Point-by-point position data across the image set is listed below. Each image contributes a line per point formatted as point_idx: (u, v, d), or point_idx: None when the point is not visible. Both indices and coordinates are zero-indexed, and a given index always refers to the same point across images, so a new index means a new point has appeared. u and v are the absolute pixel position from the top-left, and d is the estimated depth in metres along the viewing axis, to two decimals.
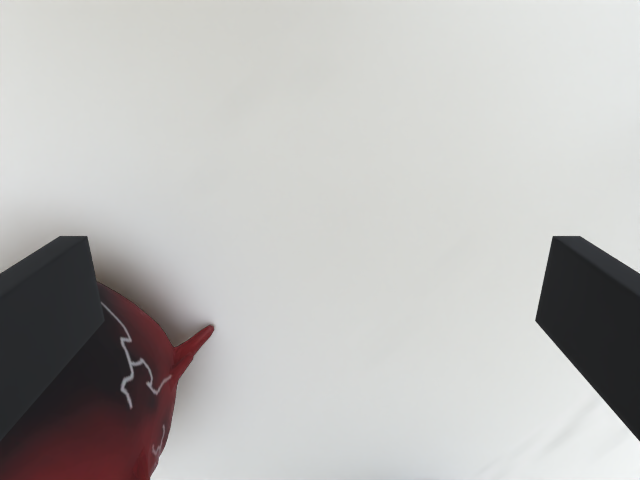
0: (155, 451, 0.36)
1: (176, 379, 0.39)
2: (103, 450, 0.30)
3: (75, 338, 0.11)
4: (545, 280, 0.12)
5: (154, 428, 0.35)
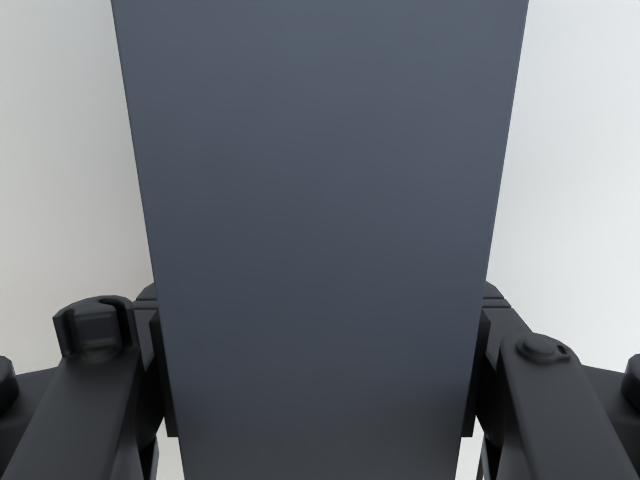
0: None
1: None
2: None
3: None
4: None
5: None
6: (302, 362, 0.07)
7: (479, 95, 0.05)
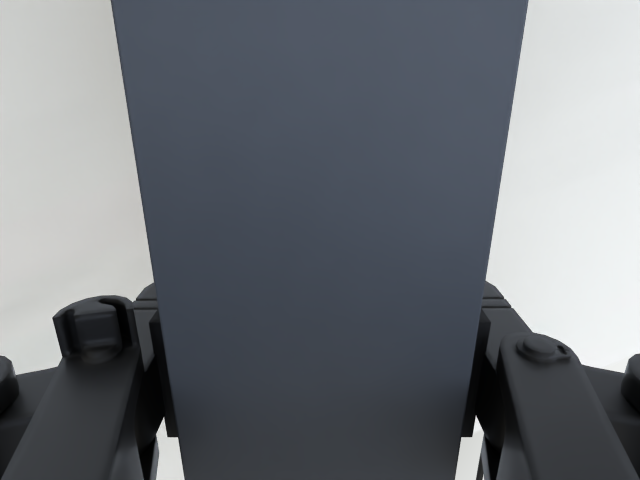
0: None
1: None
2: None
3: None
4: None
5: None
6: (302, 361, 0.07)
7: (479, 95, 0.05)
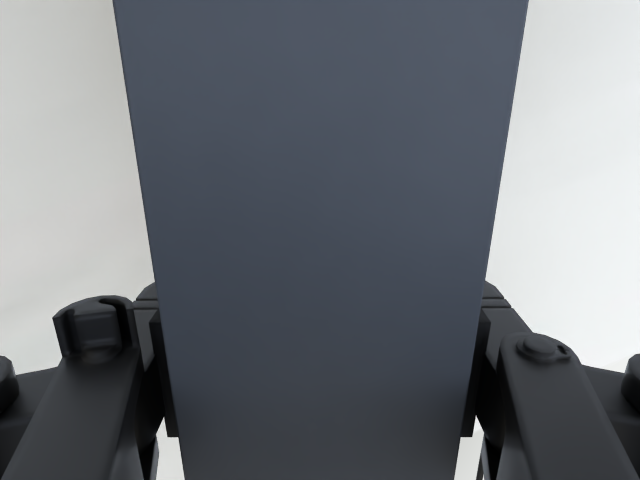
0: None
1: None
2: None
3: None
4: None
5: None
6: (303, 360, 0.07)
7: (479, 94, 0.05)
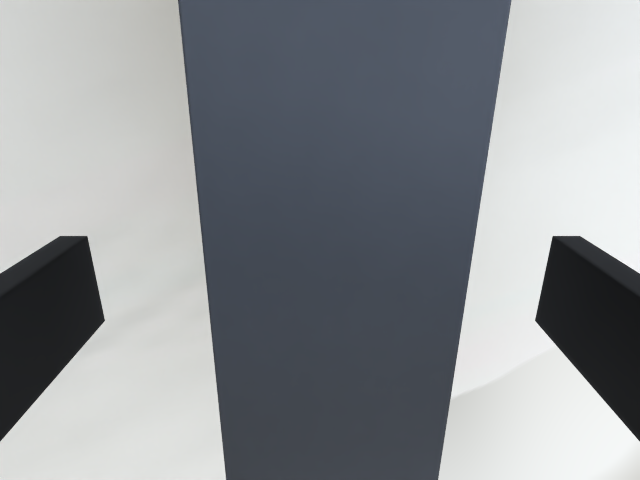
0: None
1: None
2: None
3: (76, 338, 0.11)
4: (545, 280, 0.12)
5: None
6: (322, 252, 0.08)
7: (481, 1, 0.06)
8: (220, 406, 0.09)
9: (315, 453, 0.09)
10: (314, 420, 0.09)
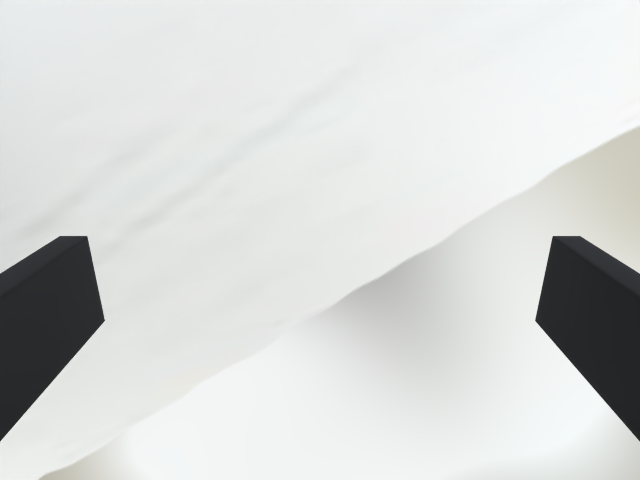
0: None
1: None
2: None
3: (76, 338, 0.11)
4: (545, 281, 0.12)
5: None
6: None
7: None
8: None
9: None
10: None
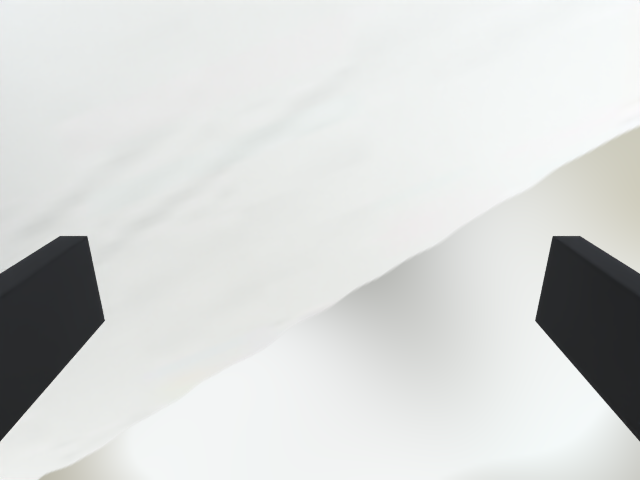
0: None
1: None
2: None
3: (76, 338, 0.11)
4: (545, 281, 0.12)
5: None
6: None
7: None
8: None
9: None
10: None
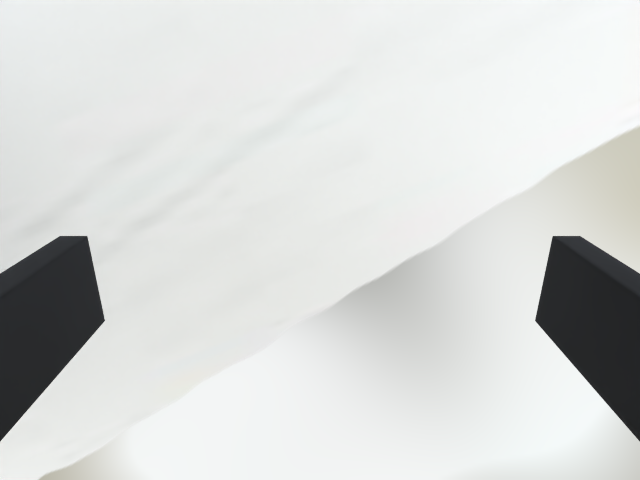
0: None
1: None
2: None
3: (76, 338, 0.11)
4: (545, 281, 0.12)
5: None
6: None
7: None
8: None
9: None
10: None
